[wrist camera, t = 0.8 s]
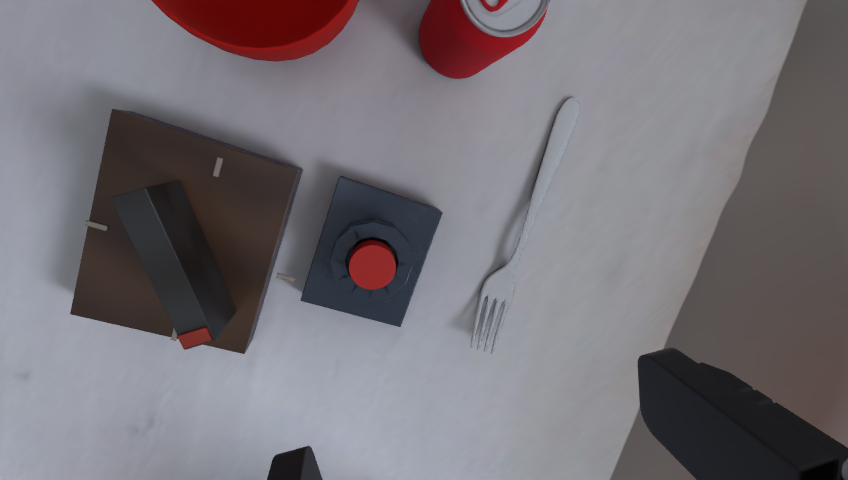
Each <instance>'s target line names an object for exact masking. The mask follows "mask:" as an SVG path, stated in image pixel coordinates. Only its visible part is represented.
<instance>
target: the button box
mask: <svg viewBox="0 0 848 480" xmlns="http://www.w3.org/2000/svg"><path fill="white" fill-rule="evenodd" d="M441 215H442V212H441V211H440V210H439V209H437V208H434V207H431V206H429V205H426V204H423V203H420V202H417V201H414V200H411V199H408V198H405V197H402V196H399V195H396V194H393V193H390V192H387V191H384V190H382V189H379V188H376V187H373V186H370V185H367V184H364V183H361V182H358V181H355V180H352V179H349V178H346V177H343V176H340V177H339V180H338V183H337V186H336V189H335V192H334V195H333V199H332V202H331V205H330V208H329V211H328V215H327V218H326V221H325V224H324V227H323V230H322V234H321V237H320V240H319V243H318V246H317V249H316V253H315V256H314V259H313V262H312V265H311V269H310V272H309V275H308V278H307V281H306V284H305V288H304V291H303V294H302V297H301V301H304V302H308V303H311V304H315V305H319V306H323V307H327V308H330V309H334V310H338V311H342V312H345V313H349V314H353V315H357V316H361V317H364V318H368V319H372V320H376V321H379V322H383V323H387V324H391V325H394V326H398V327H401V324H402V321H403V319H404V316H405V313H406V311H407V308H408V305H409V302H410V300H411V297H412V294H413V292H414V289H415V286H416V283H417V281H418V278H419V275H420V272H421V270H422V267H423V264H424V262H425V259H426V256H427V253H428V251H429V248H430V245H431V243H432V240H433V237H434V234H435V232H436V229H437V226H438V224H439V221H440V218H441ZM367 240H377V241H380V242H383V243H384V244H386V245H387V246H388V247H389V248H390V249H391V251H392V253H393V256H394V259H395V263H396V271H395V274H394V277H393V278H392V280H391V281H390V282H389V283H388V284H387V285H386V286H384V287H382V288H379V289H374V290H370V289H365V288H362V287H360V286H359V285H357V284H356V283H355V282H354V281H353V279H352V278H351V276H350V273H349V261H350V255H351V253H352V251H353V249H354V248H355V247H356V246H357V245H358V244H360V243H362V242H364V241H367Z"/></svg>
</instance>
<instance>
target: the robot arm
mask: <svg viewBox="0 0 848 480" xmlns="http://www.w3.org/2000/svg"><path fill="white" fill-rule="evenodd" d="M638 379H639V396H640V410H641V414H642V416H643V419H644V422H645V423H646V425H647V427H648V429H649V430H650V432H651V433H652V434H653V435H654V437H655V438H656V439H657V440H658V441H659V442H660V443H661V444H662V445H663V446H664V447H665V448H666V449H667V450H668V451H669V452H670V453H671V454H672V455H673V456H674V457H675V458H676V459H677V460H678V461H679V462H680V463H681V464H682V465H683V466H684V467H685V468H686V469H687V470H688V471H689V472H690V473H691V474H692V475H693V476H694V477H695V478H696V479H697V480H848V448H847V447H845V446H844V445H842V444H841V443H839V442H837V441H836V440H834V439H833V438H831V437H830V436H828V435H826V434H825V433H823V432H822V431H820V430H819V429H817V428H816V427H814V426H812V425H811V424H809V423H808V422H806V421H805V420H803V419H801V418H800V417H798V416H797V415H795V414H794V413H792V412H790V411H789V410H787V409H786V408H784V407H783V406H781V405H779V404H778V403H773V402H772V400H771V399H770V398H769V397H767V396H765V395H764V394H762V393H761V392H759V391H758V390H755V391H754V390H753V389H752V387H751V386H749V385H748V384H747V383H745V382H743V381H742V380H740V379H738V378H737V377H736V376H734V375H732V374H731V373H729V372H727V371H724V370H721V369H718V368H716V367H713V366H710V365H708V364H705V363H699V364H698V363H696V362H695V361H693V360H692V359H690V358H689V357H687V356H686V355H684V354H683V353H682V352H680V351H678V350H676V349H674V348H666V349H663V350H659V351H656V352H652V353H648V354H645V355H642V356H640V357H639V359H638ZM267 480H322V477H321V474H320V471H319V468H318V465H317V462H316V459H315V456H314V453H313V450H312V448H311V447H310V446H306V447H303V448H299V449H295V450H292V451H288V452H284V453H281V454H277V455H275V456H274V458H273V460H272V464H271V467H270V471H269V474H268V478H267Z"/></svg>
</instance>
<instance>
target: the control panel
mask: <svg viewBox="0 0 848 480" xmlns="http://www.w3.org/2000/svg"><path fill="white" fill-rule="evenodd" d="M302 170H303V169H301V168H298V167H295V166H292V165H289V164H286V163H283V162H280V161H277V160H274V159H271V158H268V157H265V156H262V155H259V154H256V153H253V152H250V151H247V150H244V149H241V148H238V147H235V146H233V145H230V144H227V143H224V142H221V141H218V140H215V139H212V138H209V137H206V136H203V135H200V134H197V133H194V132H191V131H188V130H185V129H182V128H179V127H176V126H173V125H170V124H167V123H164V122H161V121H158V120H155V119H152V118H149V117H146V116H144V115H141V114H138V113H135V112H131V111H123V110H116V109H112V112H111V117H110V122H109V127H108V132H107V136H106V141H105V146H104V151H103V156H102V161H101V166H100V171H99V176H98V181H97V185H96V190H95V195H94V200H93V205H92V210H91V215H90V220H89V221H88V220H87V221H86V223H85V225H87V226H88V230H87V234H86V239H85V244H84V249H83V254H82V259H81V264H80V269H79V274H78V279H77V283H76V288H75V293H74V298H73V303H72V308H71V313H70V314H72V315H77V316H81V317H85V318H90V319H94V320H98V321H103V322H107V323H111V324H116V325H120V326H125V327H129V328H133V329H138V330H142V331H146V332H151V333H155V334H159V335H164V336H168V337H171V340H174V341H176V339H179V338H178V336H177V334H176V332H175V329H174V327H173V325H172V323H171V321H170V319H169V317H168V315H167V313H166V311H165V309H164V307H163V305H162V303H161V301H160V299H159V297H158V295H157V293H156V291H155V289H154V287H153V284H152V282H151V280H150V278H149V276H148V274H147V272H146V270H145V268H144V266H143V264H142V262H141V260H140V258H139V256H138V254H137V252H136V250H135V248H134V246H133V244H132V242H131V239H130V237H129V235H128V233H127V231H126V229H125V227H124V225H123V223H122V221H121V219H120V217H119V215H118V213H117V211H116V209H115V207H114V205H113V203H112V201H111V199H110V197H112V196H115V195H119V194H123V193H126V192H130V191H134V190H137V189H141V188H145V187H149V186H154V185H159V184H163V183H168V182H173V181H177V180H180V181H181V184H182V186H183V188H184V191H185V193H186V195H187V198H188V200H189V202H190V204H191V207H192V209H193V211H194V214H195V216H196V218H197V221H198V223H199V225H200V227H201V230H202V232H203V234H204V237H205V239H206V241H207V244H208V246H209V248H210V251H211V253H212V255H213V257H214V260H215V262H216V264H217V267H218V269H219V271H220V274H221V276H222V278H223V280H224V283H225V285H226V287H227V290H228V292H229V294H230V297H231V299H232V301H233V303H234V306H235V308H236V310H237V312H236V313H235V314H234V316H233V317H232V319H231V320H230V321H229V323H228V324H227V325H226V327H225V328H224V329H223V331H222V332H221V334H220V335H219V336H218V338H217V339H216V340H215V341H212V342H208V343H205V344H203V345H208V346H212V347H216V348H221V349H225V350H229V351H234V352H238V353H242V354H245V352H246V350H247V348H248V346H249V345H250V343H251V341H252V339H253V335H254V332H255V329H256V325H257V322H258V319H259V315H260V312H261V308H262V305H263V302H264V298H265V295H266V292H267V288H268V285H269V281H270V278H271V275H272V271H273V268H274V265H275V261H276V258H277V255H278V251H279V248H280V244H281V241H282V238H283V234H284V231H285V228H286V224H287V221H288V217H289V214H290V211H291V207H292V204H293V201H294V197H295V194H296V190H297V187H298V184H299V180H300V177H301V174H302ZM276 278H280V279H284V280H287V281H291V282H294V280H295V278H294V277H291V276H287V275H283V274H280V273H278V274H277V277H276Z"/></svg>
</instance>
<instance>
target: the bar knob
mask: <svg viewBox="0 0 848 480" xmlns="http://www.w3.org/2000/svg"><path fill="white" fill-rule="evenodd" d="M110 199H111V201H112V203H113V205H114V207H115V209H116V211H117V213H118V215H119V217H120V219H121V221H122V223H123V225H124V227H125V229H126V231H127V233H128V235H129V237H130V239H131V242H132V244H133V246H134V248H135V250H136V252H137V254H138V256H139V258H140V260H141V262H142V264H143V266H144V268H145V270H146V272H147V274H148V276H149V278H150V280H151V282H152V284H153V287H154V289H155V291H156V293H157V295H158V297H159V299H160V301H161V303H162V305H163V307H164V309H165V311H166V313H167V315H168V317H169V319H170V321H171V323H172V325H173V327H174V329H175V332H176V334H177V336H178V338H179V340H180V342H181V344H182V347H183V349H185V350H186V349H189V348H192V347H196V346H199V345H202V344H205V343H208V342H212V341H215V340H216V339H217V338H218V336H219V335H220V334H221V332H222V331H223V329H224V328H225V327H226V325H227V324H228V323H229V321H230V320H231V319H232V317H233V316H234V314H235V313H236V312H237V310H236V308H235V306H234V303H233V301H232V299H231V297H230V294H229V292H228V290H227V287H226V285H225V283H224V280H223V278H222V276H221V274H220V271H219V269H218V267H217V264H216V262H215V260H214V257H213V255H212V253H211V251H210V248H209V246H208V244H207V241H206V239H205V237H204V234H203V232H202V230H201V227H200V225H199V223H198V221H197V218H196V216H195V214H194V211H193V209H192V207H191V204H190V202H189V200H188V198H187V195H186V193H185V191H184V188H183V186H182V184H181V181H180V180H177V181H173V182H168V183H163V184H159V185H154V186H149V187H145V188H141V189H137V190H134V191H130V192H126V193H123V194H119V195H115V196H112V197H110Z"/></svg>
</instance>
